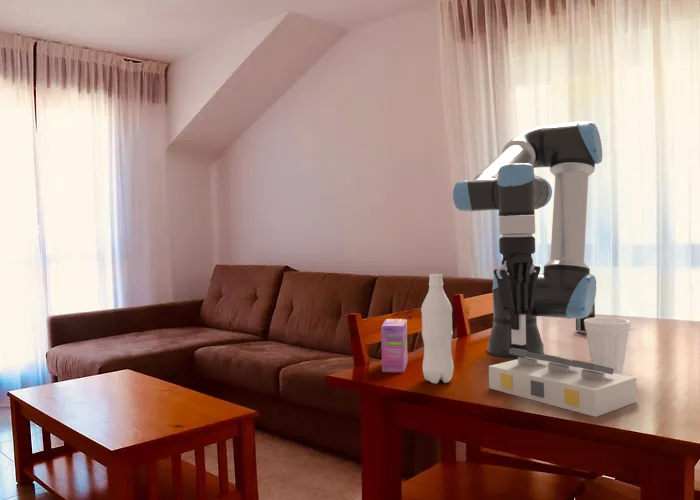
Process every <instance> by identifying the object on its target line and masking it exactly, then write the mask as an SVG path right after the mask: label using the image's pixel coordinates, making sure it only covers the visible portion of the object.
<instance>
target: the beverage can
mask: <svg viewBox="0 0 700 500" xmlns="http://www.w3.org/2000/svg"><path fill="white" fill-rule="evenodd" d="M595 305H596V302H595V301H594V304H593V307H592V310H591V312H590V313H589V315H588V316H587V317H585V318H575V330H576V331H577V332H578V333H580V334H587V333H586V329H585V324H584V320H585V319H587V318H595V317H596V309H595V308H596V306H595Z"/></svg>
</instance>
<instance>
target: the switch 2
mask: <svg viewBox="0 0 700 500" xmlns="http://www.w3.org/2000/svg"><path fill="white" fill-rule="evenodd" d="M539 359H540V360H544V361H548V362H553V363H557V364H562V365H567V366H572V363H573V359H572V360H571V359H567V358H564V357H560V356H556V355H551V354H547V353H546V354H545V353H543V354H540V355H539ZM572 367H574V366H572Z"/></svg>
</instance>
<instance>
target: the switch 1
mask: <svg viewBox="0 0 700 500" xmlns="http://www.w3.org/2000/svg"><path fill="white" fill-rule="evenodd" d="M509 353H510V354H514V355H519V356H523V357H527V358H532V359H537V360H540V359H539V355H540V354H537V353H532V352H528V351H525V350H520V349H515V348H509ZM542 361H544V360H542Z"/></svg>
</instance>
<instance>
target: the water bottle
mask: <svg viewBox="0 0 700 500" xmlns="http://www.w3.org/2000/svg"><path fill="white" fill-rule="evenodd" d="M428 277H429V281H428V282H429V283H428V286H429V287H428V290H427V291H428V292H427V294H426V296H425V298H424V299H423V302H422V304H421V308H420V310H421V311H420V312H421V337H422V341H423V351H424V352H423V361H422V374H423V376H424V379H425V380H426V381H427V382H430V383H432V384H438V383H439V382H440V380H442V382H443V383H444V384H446V383H449V382H450V381H451V380H452V377H453V375H454V370H455V369H454V361H453V356H452V340H453V334H454V331H453V316H452V315H453V307H452V303H451V302H450V300H449V298H448V297H447V294H446V293H445V290H444V280H443V274H442V273H430V274H429V276H428Z"/></svg>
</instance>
